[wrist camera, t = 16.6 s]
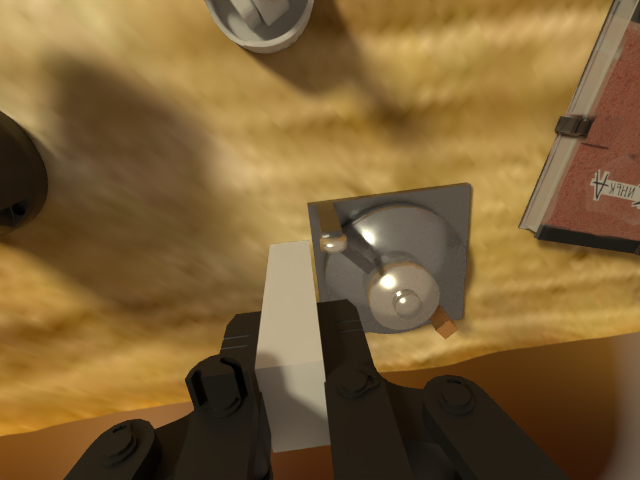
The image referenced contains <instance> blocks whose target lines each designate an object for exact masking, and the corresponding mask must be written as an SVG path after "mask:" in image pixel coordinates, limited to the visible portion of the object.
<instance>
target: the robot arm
mask: <svg viewBox="0 0 640 480" xmlns="http://www.w3.org/2000/svg"><path fill="white" fill-rule="evenodd" d="M46 195H47V175H46V171H45V167H44V164H43V161H42V159H41V157H40V154H39V153H38V151H37V149H36V147H35V146H34V144H33V143H32V141H31V140H30V139H29V137H28V136H27V135H26V134H25V133H24V132H23V130H22V129H21V128H20V127H19V126H18V125H17V124H15V123H14V122H13V121H12V120H11V119H10V118H8V117H7V116H6V115H4V114H3V113H1V112H0V235H3V234H6V233H9V232H11V231H13V230H15V229H17V228H19V227H21V226H23V225H25V224H27V223H28V222H30V221H31V220H32V219H33V218H34V217H35V216H36V215H37V214H38V213H39V212H40V210H41V208H42V207H43V205H44V202H45V199H46ZM185 382H186V385H187V388H188V391H189V394H190V397H191V400H192V402H193V405H194V411H192V412H191V413H190V414H188V415H187V416H185V417H183V418H181V419H179V420H176V421H174V422H172V423H169V424H167V425H165V426H162V427H159V428H157V429H154V428H153V426H152V425H151V424H150V422H148V421H145V420H142V419H133V420H127V421H124V422H122V423H119V424H117V425H114V426H113V427H112V428H110V429H108V430H107V431H105V432H104V433H102V434H101V435H100V436H99V437H98V438H97V439H96V440H95V441H94V442H93V443H92V444H91V445H90V447H89V448H88V449H87V450H86V452H85V453H84V454H83V455H82V457H81V458H80V459H79V460H78V462H77V463H76V464H75V465H74V467H73V468H72V469H71V471H70V472H69V473H68V474H67V476H66V477H65V478H64V479H63V480H273V472H272V466H271V461H270V453H271V443H272V448H273V452H274V453H276V452H282V451H290V450H297V449H304V448H311V447H318V446H325V445H331V452H332V461H333V470H334V480H571V479H570V478H569V477H568V476H567V475H566V474H565V473H564V472H563V471H562V470H561V469H560V468H559V467H558V466H557V465H556V464H555V463H554V462H553V461H552V460H551V459H550V458H549V457H548V456H547V455H546V454H545V453H544V451H542V449H541V448H540V447H539V446H538V445H537V444H536V443H535V442H534V441H533V440H532V439H531V438H530V437H529V436H528V435H527V434H526V433H525V432H524V431H523V430H522V429H521V428H520V427H519V426H518V425H517V424H516V423H515V422H514V421H513V420H512V419H511V418H510V417H509V416H508V415H507V414H506V413H505V412H504V411H503V410H502V409H501V408H500V406H498V404H497V403H496V402H495V401H494V400H493V399H491V397H490V396H489V395H488V394H487V393H486V392H485V391H484V390H483V389H481V388H480V387H479V386H478V385H476V384H475V383H474V382H472V381H470V380H468V379H465V378H463V377H460V376H453V375H444V376H438V377H435V378H433V379H432V380H430V381H428V382H427V384H426V386H425V387H424V389H416V388H408V387H403V386H398V385H396V384H393V383H391V382H389V381H387V380H386V379H384V378H383V377H382V376H381V375H380V374H379V373H378V372H377V370H376V368H375V366H374V363H373V360H372V357H371V353H370V350H369V347H368V343H367V340H366V337H365V334H364V330H363V327H362V324H361V321H360V317H359V314H358V310H357V307H356V306H354V305H353V304H352V303H351V302H350V301H349V300H348V299H343V300H336V301H328V302H320V303H316V297H315V289H314V280H313V272H312V264H311V256H310V248H309V240H303V241H295V242H287V243H279V244H271V245H270V249H269V257H268V265H267V273H266V281H265V289H264V297H263V305H262V311H259V312H251V313H243V314H236V315H235V316H234V318H233V319H232V320H231V321H230V322H229V324H228V325H227V327H226V331H225V335H224V340H223V342H222V346H221V350H220V354H218V355H214V356H210V357H208V358H207V359H205V360H203V361H201V362H199V363H198V364H197V365H196V366H195V367H194V368H192V369H191V370H190V372H189V373H188V375H187V377H186V378H185Z"/></svg>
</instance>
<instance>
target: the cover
mask: <svg viewBox="0 0 640 480" xmlns="http://www.w3.org/2000/svg"><path fill="white" fill-rule="evenodd" d="M371 262H372V263H373V265H374V267H375V268H374V269H373V270H372V271H371V272H370V273H369V274H367V273H366V272H364V274H363V278H362V286H363V290H364V293H365V295H366V298H367V300H368V303H369V306H370V308H371V311H372V313H373V316H374V317H375V319H376V320H377V321H378V322H379V323H380V324H382V325H383V326H385V327H387V328H391V329H395V330H405V329H410V328H414V327H416V326H418V325H420V324H422V323H424V322H425V321H426V320H428V319H429V318H430V317H431V316H432V314H433V313H434V312H435V310H436V308H437V306H438V303H439V299H440V292H439V287H438V285H437V283H436V281H435V280H434V279H433V277H432V276H431V275H430V274H429V272H428V271H427V270H426V268H425V267H424V266H423V265H422V263H421V262H420V261H419V260H418V259H417V258H416V257H415V256H414V255H412V254H410V253H408V252H405V251H389V252H386V253H383V254H381V255H379V256H377V257H376V258H374V259H373V260H372V261H371Z"/></svg>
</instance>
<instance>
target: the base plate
mask: <svg viewBox="0 0 640 480" xmlns="http://www.w3.org/2000/svg"><path fill="white" fill-rule="evenodd" d="M470 191H471V184H469V183H459V184H452V185H444V186H436V187H428V188H421V189H413V190H405V191H397V192H389V193H382V194H374V195H366V196H358V197H351V198H343V199H335V200H327V201H320V202H312V203H307V204H308V211H309V219H310V226H311V234H312V242H313V249H314V257H315V265H316V272H317V280H318V287H319V295H320V302H328V301H331V300H330V298H329V295H328V291H327V287H326V281H325V262H326V257H327V254H328V253H324V252H322V251H321V247H320V238H321V234H320V228H319V223H318V217H317V209H316V204H324V203H333V205H334V208H335V211H336V214H337V217H338V220H339V223H340V225H341V228H343V227H344V226H345V225H346V224H348V223H349V222H350V221H351V220H352V219H354V218H355V217H357V216H358V215H360V214H361V213H363V212H365V211H367V210H369V209H372V208H375V207H378V206H381V205H386V204H393V203H409V204H415V205H419V206H422V207H425V208H427V209H429V210H432V211H433V212H435V213H436V214H438V215H439V216H441V217H442V218H443V219H444V220H445V221H446V222H448V223H449V224H450V225H451V226H452V227H453V228H454V229H455V231H456V232H457V233H458V235H459V237H460V238H461V240H462V242H463V245H464V248H465V252H466V253H467V238H468V222H469V206H470ZM464 284H465V279H464V282H463V284H462V287H461V289H460V291H459V293H458V295H457V297H456V298H455V299H454V301H453V302H452V303H451V305H450V306H449V307H448V308H447V309H446V310H445V311H446V312H447V314H448V315H449V317H450V318H451V320H459V319H462V316H463V300H464ZM430 323H431V322H429V323H427V324H430ZM364 332H369V331H366V330H364Z"/></svg>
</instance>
